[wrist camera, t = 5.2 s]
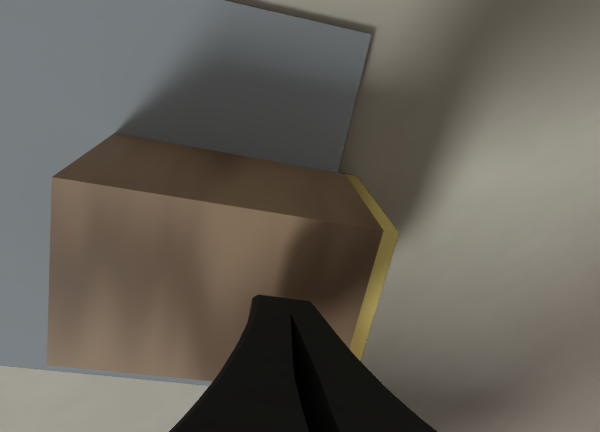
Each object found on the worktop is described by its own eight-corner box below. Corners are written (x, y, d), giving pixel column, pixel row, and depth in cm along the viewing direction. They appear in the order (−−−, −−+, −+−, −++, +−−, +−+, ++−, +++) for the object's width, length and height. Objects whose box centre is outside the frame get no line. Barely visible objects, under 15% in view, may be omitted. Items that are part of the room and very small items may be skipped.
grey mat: (283, 388, 19) (284, 392, 19) (-90, 351, 17) (-96, 356, 17) (369, 34, 15) (371, 34, 14) (-130, -81, 12) (-139, -85, 12)
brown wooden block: (349, 395, 13) (46, 365, 12) (323, 300, 18) (104, 271, 16) (399, 232, 11) (51, 177, 10) (356, 176, 16) (114, 132, 15)
